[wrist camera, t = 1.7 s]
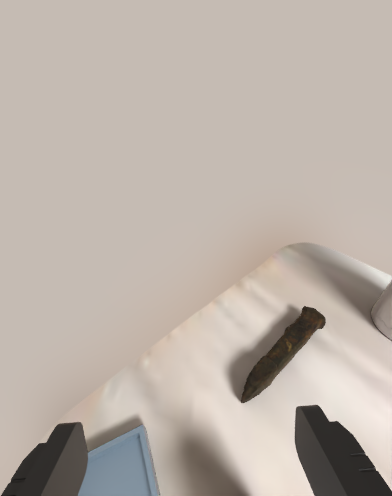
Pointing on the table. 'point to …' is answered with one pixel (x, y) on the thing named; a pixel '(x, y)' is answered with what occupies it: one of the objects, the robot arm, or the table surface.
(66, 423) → the robot arm
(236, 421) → the table surface
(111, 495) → the tray
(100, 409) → the table surface
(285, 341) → the brown rough rod
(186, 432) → the table surface
